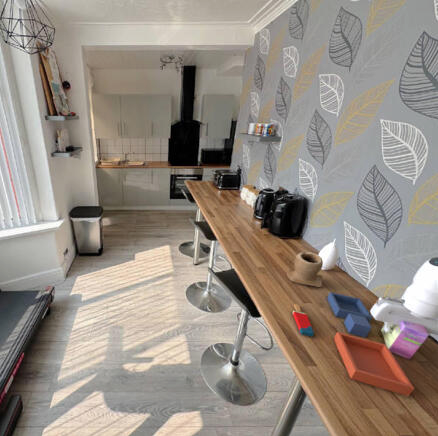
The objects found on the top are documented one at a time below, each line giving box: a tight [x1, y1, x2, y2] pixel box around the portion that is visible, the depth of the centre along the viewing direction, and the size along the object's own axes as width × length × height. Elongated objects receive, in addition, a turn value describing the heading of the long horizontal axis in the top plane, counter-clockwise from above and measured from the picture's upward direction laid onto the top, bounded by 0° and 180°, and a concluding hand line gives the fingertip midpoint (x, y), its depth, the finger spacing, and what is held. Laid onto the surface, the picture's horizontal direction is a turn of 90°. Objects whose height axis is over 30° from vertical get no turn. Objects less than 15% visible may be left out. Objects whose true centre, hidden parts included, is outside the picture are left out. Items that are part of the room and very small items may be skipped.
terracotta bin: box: [333, 331, 415, 397], centre depth 74 cm, size 14×15×4 cm
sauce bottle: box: [318, 238, 339, 271], centre depth 118 cm, size 8×8×18 cm
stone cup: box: [286, 251, 324, 288], centre depth 109 cm, size 15×12×15 cm
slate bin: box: [326, 291, 373, 324], centre depth 95 cm, size 11×11×4 cm
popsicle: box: [292, 303, 315, 338], centre depth 90 cm, size 5×2×15 cm
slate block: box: [343, 313, 373, 339], centre depth 86 cm, size 5×5×5 cm
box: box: [380, 321, 430, 360], centre depth 79 cm, size 10×6×12 cm, turn 147°
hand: (400, 334), depth 80 cm, fingers closed on box, 6 cm apart
